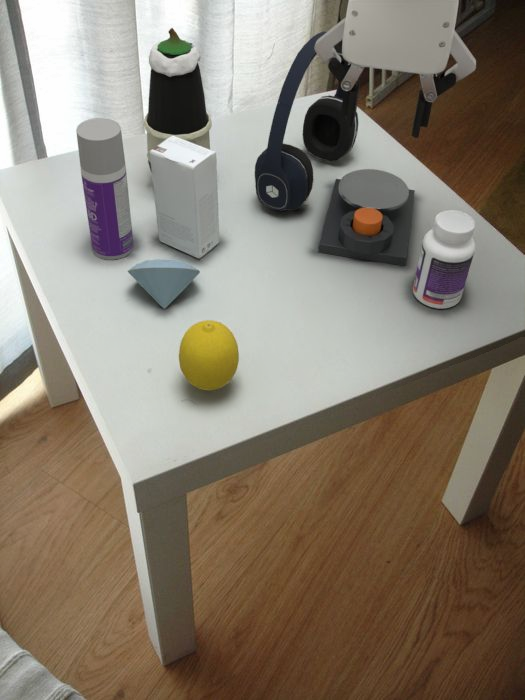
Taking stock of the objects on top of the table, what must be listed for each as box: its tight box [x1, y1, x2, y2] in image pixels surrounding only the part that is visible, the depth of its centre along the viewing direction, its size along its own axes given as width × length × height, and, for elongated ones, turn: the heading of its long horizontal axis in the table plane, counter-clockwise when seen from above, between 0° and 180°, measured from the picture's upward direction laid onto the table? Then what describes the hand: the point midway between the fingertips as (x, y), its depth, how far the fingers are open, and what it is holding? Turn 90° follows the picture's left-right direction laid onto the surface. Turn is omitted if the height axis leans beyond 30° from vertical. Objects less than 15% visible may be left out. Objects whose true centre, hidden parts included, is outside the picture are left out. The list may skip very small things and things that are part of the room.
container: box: [75, 117, 134, 261], centre depth 84 cm, size 5×5×15 cm
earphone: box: [254, 30, 359, 212], centre depth 95 cm, size 20×7×18 cm, turn 152°
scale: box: [317, 178, 416, 267], centre depth 94 cm, size 10×14×3 cm
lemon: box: [178, 319, 240, 391], centre depth 72 cm, size 6×6×8 cm
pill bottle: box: [412, 209, 476, 310], centre depth 83 cm, size 5×5×10 cm
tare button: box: [353, 207, 383, 236], centre depth 89 cm, size 3×3×2 cm
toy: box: [143, 27, 213, 174], centre depth 92 cm, size 8×8×20 cm
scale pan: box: [339, 168, 409, 212], centre depth 94 cm, size 8×8×1 cm
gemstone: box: [127, 259, 201, 310], centre depth 83 cm, size 8×8×5 cm
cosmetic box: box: [149, 136, 220, 259], centre depth 87 cm, size 6×4×12 cm
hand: (383, 125), depth 81 cm, fingers open, 6 cm apart
